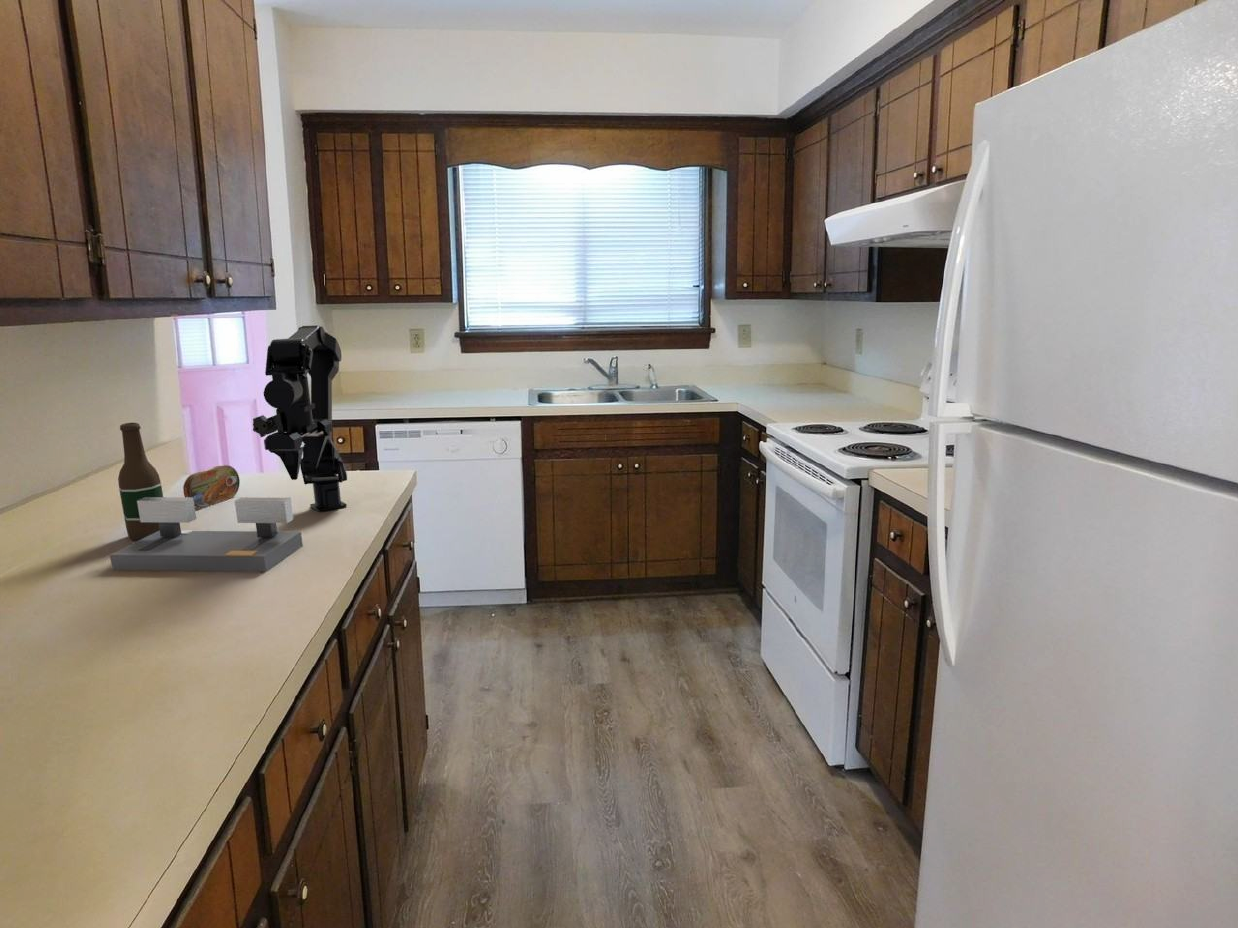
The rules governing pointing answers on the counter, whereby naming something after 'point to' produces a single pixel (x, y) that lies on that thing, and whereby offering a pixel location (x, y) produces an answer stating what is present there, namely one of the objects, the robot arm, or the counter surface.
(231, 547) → the switch panel
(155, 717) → the counter surface
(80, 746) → the counter surface
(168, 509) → the switch
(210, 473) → the tin
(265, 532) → the switch
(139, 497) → the beer bottle
